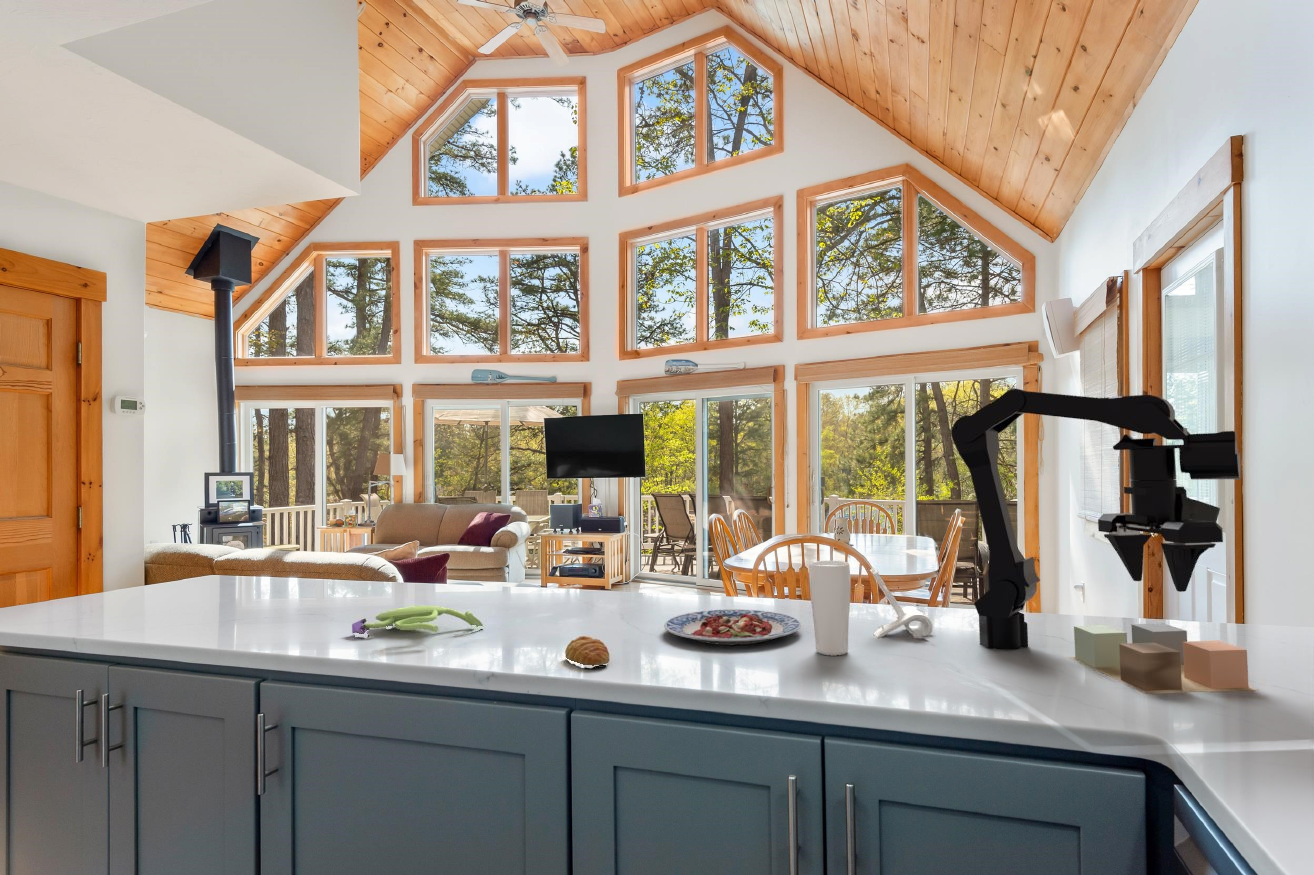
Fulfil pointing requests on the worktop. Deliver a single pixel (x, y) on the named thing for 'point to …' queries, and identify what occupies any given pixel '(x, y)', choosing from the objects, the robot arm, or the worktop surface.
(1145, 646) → the walnut block
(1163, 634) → the grey block
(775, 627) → the ceramic plate
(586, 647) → the pastry
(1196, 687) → the oak board
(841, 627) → the drinking glass
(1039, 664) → the worktop surface
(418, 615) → the figurine
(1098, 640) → the sage block
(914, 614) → the plastic part
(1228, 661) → the terracotta block
